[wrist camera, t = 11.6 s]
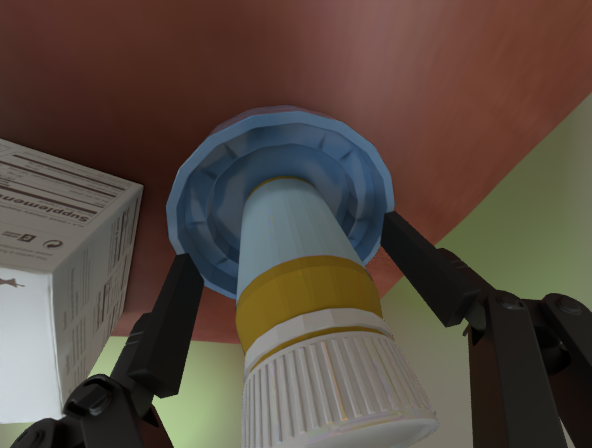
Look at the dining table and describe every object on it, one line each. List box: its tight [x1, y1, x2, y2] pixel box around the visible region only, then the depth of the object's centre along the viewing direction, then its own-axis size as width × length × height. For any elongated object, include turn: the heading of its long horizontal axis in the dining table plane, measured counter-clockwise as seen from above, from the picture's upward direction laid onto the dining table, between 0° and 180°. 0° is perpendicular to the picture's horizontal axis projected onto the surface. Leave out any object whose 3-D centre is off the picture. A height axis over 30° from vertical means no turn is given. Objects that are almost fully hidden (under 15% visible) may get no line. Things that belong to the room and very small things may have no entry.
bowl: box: [166, 105, 395, 299], centre depth 17 cm, size 16×16×4 cm
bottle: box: [236, 176, 439, 448], centre depth 13 cm, size 7×7×15 cm
